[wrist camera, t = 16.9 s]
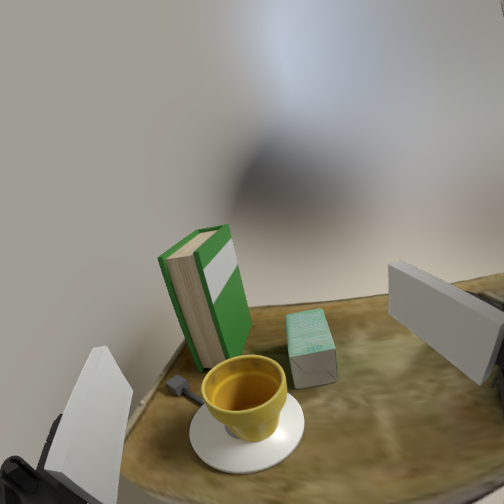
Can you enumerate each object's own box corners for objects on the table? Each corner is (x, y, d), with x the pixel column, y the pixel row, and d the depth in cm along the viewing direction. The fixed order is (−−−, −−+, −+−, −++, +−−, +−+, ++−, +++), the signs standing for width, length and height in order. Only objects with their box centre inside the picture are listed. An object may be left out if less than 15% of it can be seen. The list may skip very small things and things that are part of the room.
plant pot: (282, 458, 27) (272, 418, 24) (209, 445, 31) (185, 403, 28) (298, 402, 36) (293, 355, 33) (234, 396, 40) (220, 351, 37)
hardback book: (234, 372, 48) (198, 251, 41) (199, 372, 49) (157, 257, 42) (251, 322, 64) (228, 223, 57) (222, 324, 66) (196, 229, 59)
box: (325, 336, 53) (322, 305, 50) (338, 382, 40) (337, 348, 38) (289, 343, 53) (283, 312, 51) (294, 390, 41) (288, 358, 38)
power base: (325, 408, 35) (325, 400, 34) (255, 494, 23) (252, 489, 22) (206, 362, 52) (203, 354, 52) (141, 410, 40) (136, 402, 40)
